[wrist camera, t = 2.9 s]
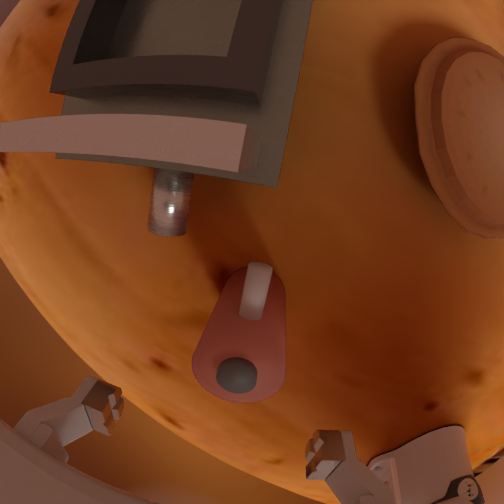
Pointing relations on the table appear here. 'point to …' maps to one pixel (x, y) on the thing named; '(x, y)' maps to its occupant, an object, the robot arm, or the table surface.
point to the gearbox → (174, 93)
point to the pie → (463, 131)
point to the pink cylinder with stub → (245, 338)
